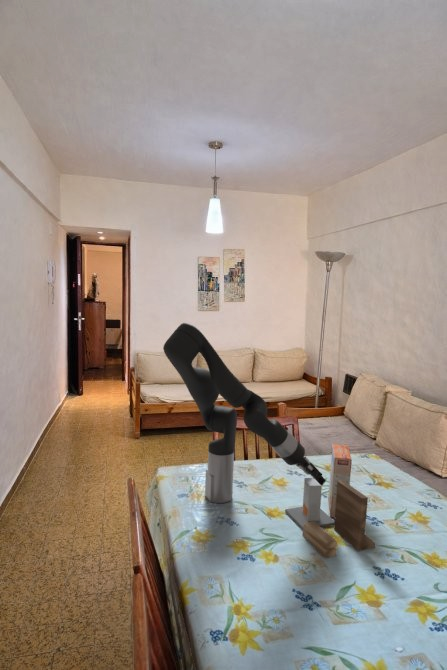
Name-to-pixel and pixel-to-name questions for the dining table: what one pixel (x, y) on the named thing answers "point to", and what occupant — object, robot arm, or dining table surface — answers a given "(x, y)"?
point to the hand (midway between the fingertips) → (316, 477)
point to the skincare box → (312, 499)
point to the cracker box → (338, 472)
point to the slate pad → (300, 519)
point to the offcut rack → (342, 523)
